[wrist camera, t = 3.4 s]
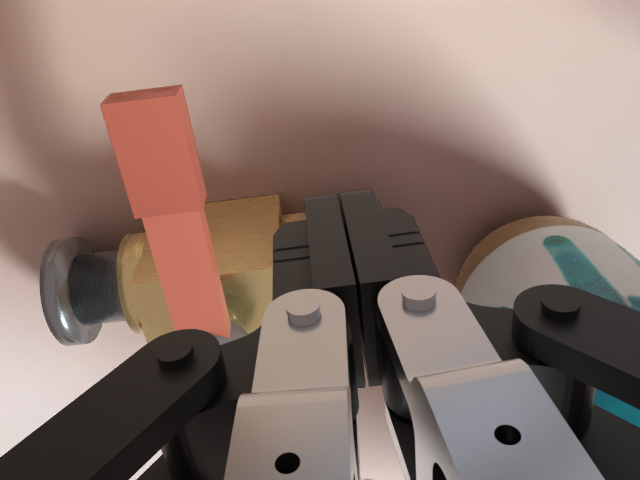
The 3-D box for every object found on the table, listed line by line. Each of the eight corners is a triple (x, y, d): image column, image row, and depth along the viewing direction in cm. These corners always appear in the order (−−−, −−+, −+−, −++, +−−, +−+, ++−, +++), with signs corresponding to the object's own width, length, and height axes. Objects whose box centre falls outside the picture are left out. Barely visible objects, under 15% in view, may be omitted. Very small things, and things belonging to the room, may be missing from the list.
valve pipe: (372, 182, 34) (401, 266, 26) (378, 268, 37) (405, 367, 29) (65, 220, 34) (-1, 316, 26) (96, 303, 37) (46, 412, 29)
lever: (258, 372, 28) (257, 395, 26) (184, 381, 28) (178, 405, 26) (196, 82, 21) (190, 94, 20) (97, 94, 21) (84, 107, 20)
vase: (573, 330, 40) (780, 624, 24) (424, 328, 39) (530, 633, 23) (622, 192, 35) (931, 444, 19) (452, 185, 34) (616, 445, 18)
